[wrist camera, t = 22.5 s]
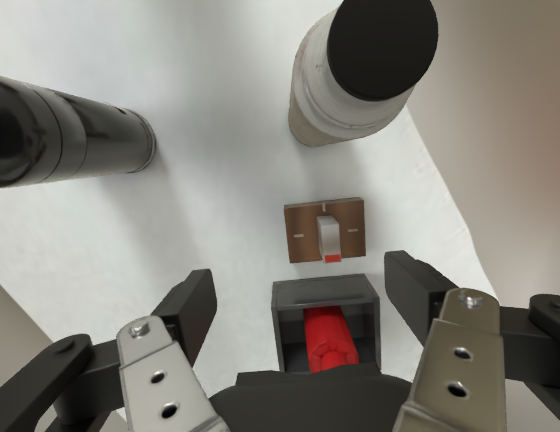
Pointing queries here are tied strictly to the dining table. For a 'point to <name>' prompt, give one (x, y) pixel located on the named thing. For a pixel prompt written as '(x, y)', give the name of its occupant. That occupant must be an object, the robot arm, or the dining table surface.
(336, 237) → the grey switch handle
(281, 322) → the dark grey storage bin
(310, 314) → the bottle
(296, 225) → the brown switch base plate
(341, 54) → the thermos bottle
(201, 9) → the dining table surface
